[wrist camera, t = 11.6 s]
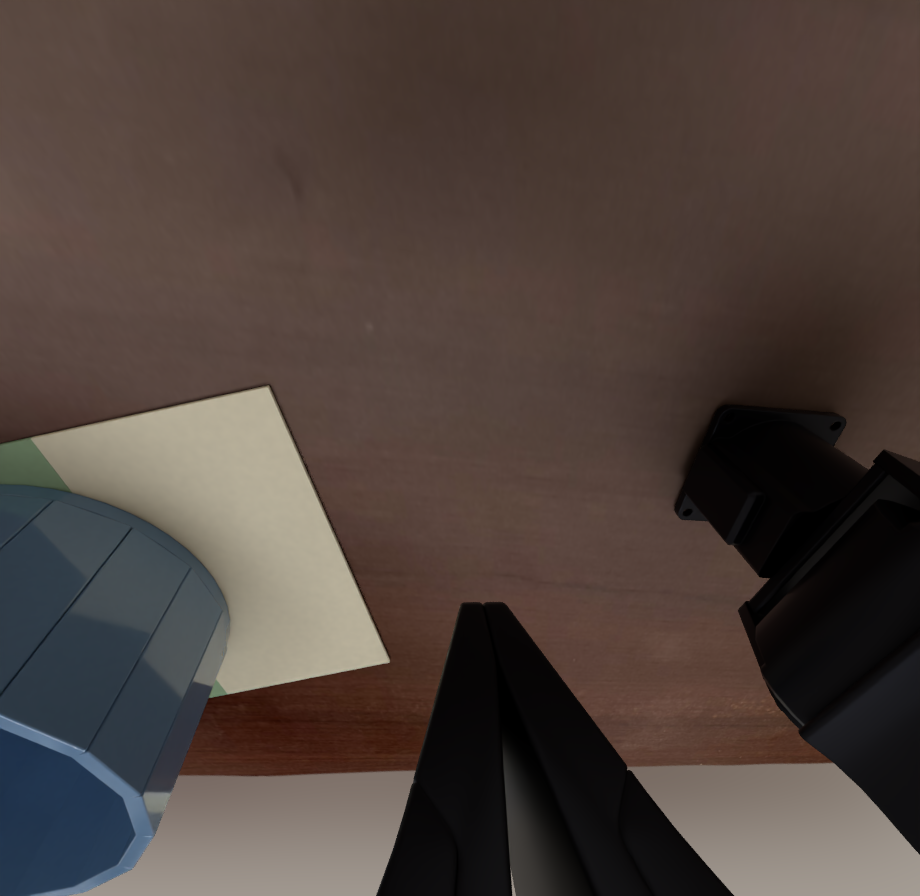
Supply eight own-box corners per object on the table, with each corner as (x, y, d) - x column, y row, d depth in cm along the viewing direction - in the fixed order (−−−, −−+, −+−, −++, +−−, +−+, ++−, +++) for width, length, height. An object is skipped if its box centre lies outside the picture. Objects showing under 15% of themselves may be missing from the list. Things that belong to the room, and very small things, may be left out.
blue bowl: (123, 447, 21) (-66, 627, 13) (278, 669, 29) (224, 865, 21) (-217, 529, 22) (-602, 749, 13) (29, 724, 30) (-116, 932, 22)
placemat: (269, 384, 20) (268, 386, 20) (390, 659, 30) (390, 662, 30) (-185, 483, 21) (-190, 486, 21) (78, 720, 31) (76, 724, 30)
